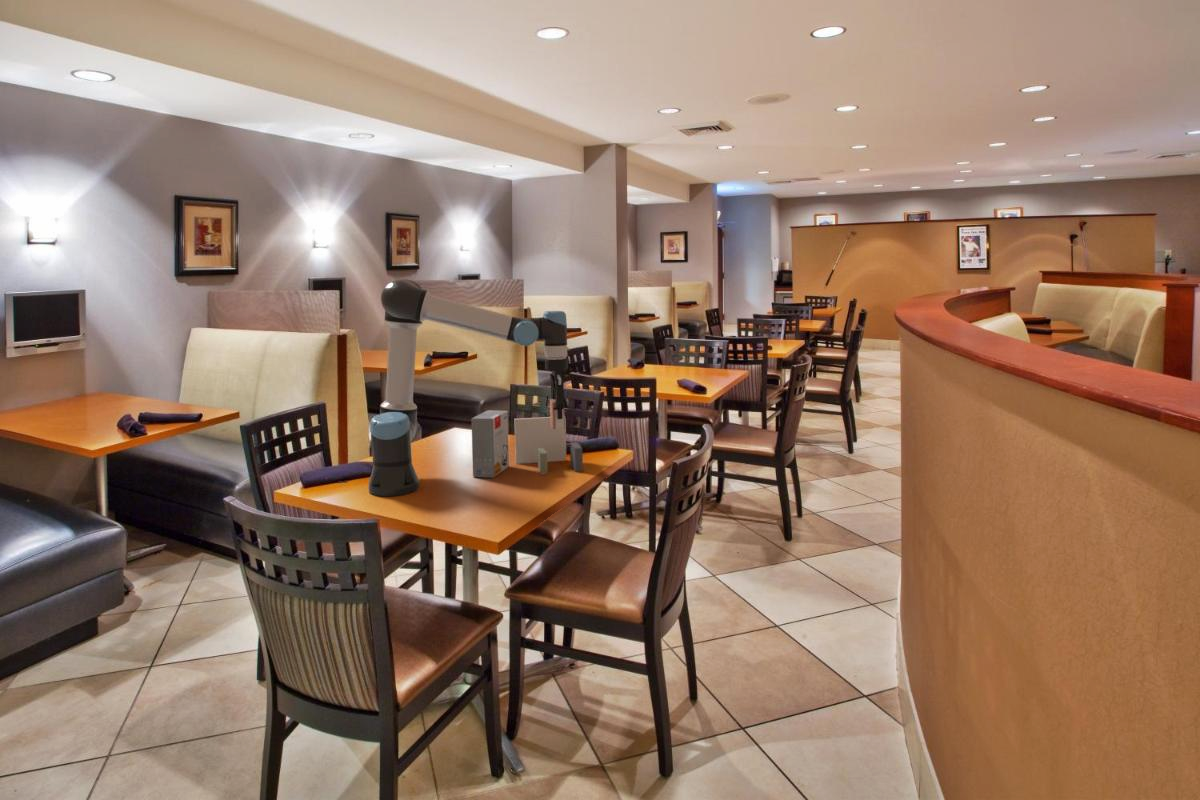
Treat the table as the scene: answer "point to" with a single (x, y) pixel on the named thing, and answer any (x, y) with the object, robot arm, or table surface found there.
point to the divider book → (542, 460)
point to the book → (552, 414)
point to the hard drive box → (490, 443)
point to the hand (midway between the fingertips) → (558, 426)
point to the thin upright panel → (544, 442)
